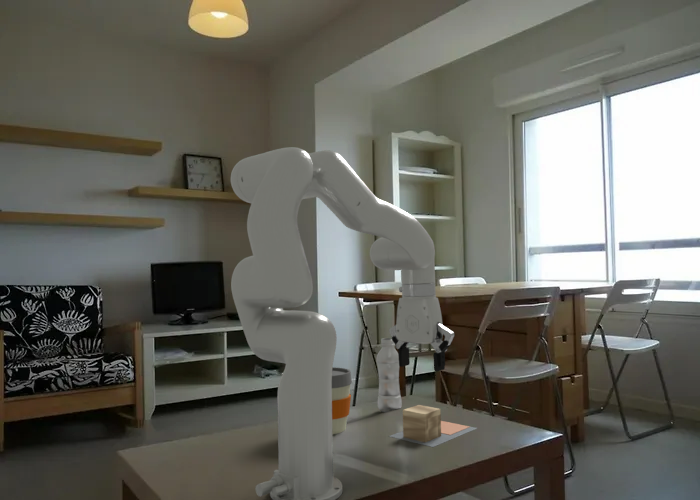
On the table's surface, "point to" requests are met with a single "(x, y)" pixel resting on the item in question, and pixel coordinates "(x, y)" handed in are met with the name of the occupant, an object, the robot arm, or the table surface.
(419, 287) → the robot arm
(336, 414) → the reusable coffee cup
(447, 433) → the post plate
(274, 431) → the table surface
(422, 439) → the wooden block
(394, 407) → the plastic bottle
